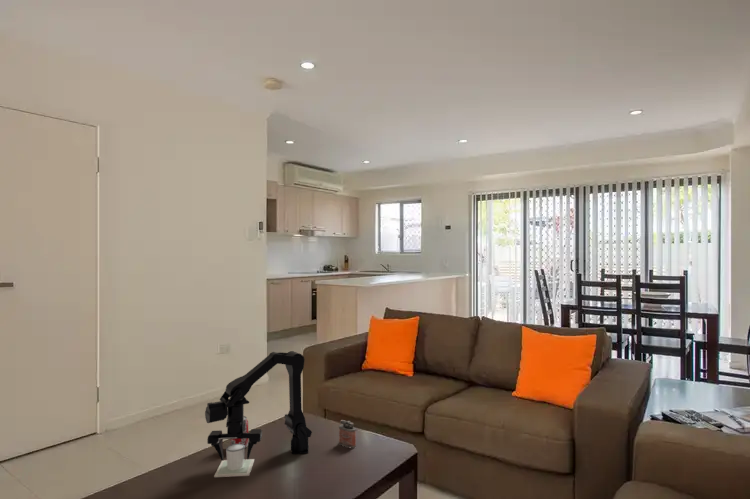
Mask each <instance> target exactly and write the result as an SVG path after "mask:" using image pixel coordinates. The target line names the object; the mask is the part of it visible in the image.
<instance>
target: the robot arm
mask: <svg viewBox="0 0 750 499" xmlns="http://www.w3.org/2000/svg"><path fill="white" fill-rule="evenodd" d="M277 364H280V365H285V369H286V371H287V373H288V390H289V391H288V393H289V395H288V396H289V410H288V413H285V414H284V420H285V421H284V425H285V426H286V428H287V430H289V432H290V433H291V434H292V437H290V438H291V439H290V451H291V454H292V455H295V454H308V453H309V450H310V445H309V438H311V437H312V433H313V431H312V430H311V429H310V428H309V427H307V423H306V418H305V414H304V412H303V410H302V409H303V405H302V379H301V377H302V373H303V370H304V368H305V357H304V355H303V354H301V353H299V352H297V351H294V350H290V351H288V352H281V351H279V352H276V351H271V352H270V353H269V354H268V356H266V357H264V359H262V360H261V361H259V363H258V364H256V365H255V366H254V367H253V368H252V369H250V370H249V371H248V372H247V373H245V374H244V375H242V376H239V377H237V378H235V379H233V380H231V381H230V382H228V384H226V387H225V391H224V393H223V394H222V395H221V397H220V398H219V401H216V402H215V401H214V402H212V401H211V402H207V404H206V405H207V406H206V407H205V410H204V411H205V412H204V418H205V420H206V423H207V424H211V423H215V422H221V421H225V419H226V423H225V424H226V425H225V427H226V428H227V431H226V432H227V433H223V431H222V430H221V429H219V430H211V431H210V433H209V434H208V436H207V442H206V443H207V444H208V445H210V444H211V447H214V449H215V450H216V452H217V454H218V456H219V458H220V460H221V462H222V461H223V460H224V446H223V441H224V440H230V439H244V438H248V446H247V452H246V459H247V460H248V459H250V456H251V452H252V450H253V447H254V445H257V444H258V443H260V442H261V440H262V437H263V430H262V428H253V429H250V431H249V432H248V433H243V431H245V426H246V421H244V416H245V414H244V412H245V411H244V406H245V405H247V404H249V403H250V401H249V400H248V399H247V398H246V395H247V394H248V393H249V392H250V390H251V388H252V386H253V385H254V384H255V383H257V382H258V381H259V379H261V378H262V377H264V375H266V374H267V373H268V372H270V371H271V370H272V369H273V368H274V367H275V366H276V365H277Z"/></svg>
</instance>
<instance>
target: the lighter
mask: <svg viewBox="0 0 750 499" xmlns="http://www.w3.org/2000/svg"><path fill="white" fill-rule="evenodd" d="M338 429H339V431H338V434H339V435H338V436H339V438H338V439H339V441H338V445H339V444H340V445H339V446H341V445H342V447H344V446H345V447H344V448H347V447H351V448H350V449H355V447H356V448H357V442H356V441H357V440H356V438H357V437H356V436H357V435H356V432H357V428H356V427H354V422H351V420H344V419H341V420H340V425H338Z"/></svg>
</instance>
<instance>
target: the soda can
mask: <svg viewBox="0 0 750 499" xmlns="http://www.w3.org/2000/svg"><path fill="white" fill-rule="evenodd" d="M247 418H248V417H247V416H245V415H244V421H246V426H245V431H243V433H249V421H248V419H247ZM229 440H230V441H229V444H230V445H233V444H243V445H245V449H246V448H248V443H249V438H244V439H229ZM230 445H229V446H230Z"/></svg>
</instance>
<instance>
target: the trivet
mask: <svg viewBox="0 0 750 499" xmlns="http://www.w3.org/2000/svg"><path fill="white" fill-rule="evenodd" d="M254 464H255V458H249V459H248V460H247V458H246V459H245V458H244V463H243V467H242V468H240V469H237V470H230V469H228V468H227V459H223V461H222V460H221V461H220V464H219V466H218V467H217V470H216V472H215V473H214V475H213V477H214V478H225V477H227V478H228V477H229V478H231V477H249V476H250V474H251V472H252V469H253V465H254Z"/></svg>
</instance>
